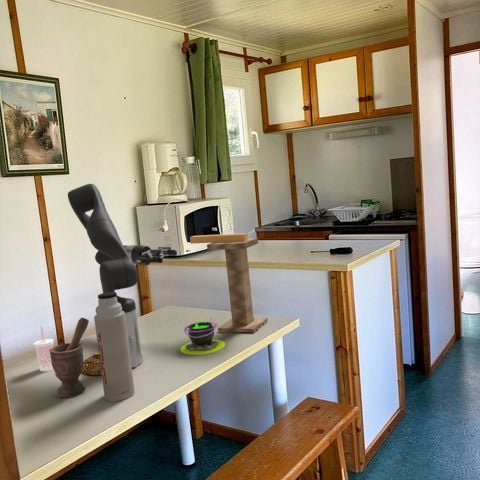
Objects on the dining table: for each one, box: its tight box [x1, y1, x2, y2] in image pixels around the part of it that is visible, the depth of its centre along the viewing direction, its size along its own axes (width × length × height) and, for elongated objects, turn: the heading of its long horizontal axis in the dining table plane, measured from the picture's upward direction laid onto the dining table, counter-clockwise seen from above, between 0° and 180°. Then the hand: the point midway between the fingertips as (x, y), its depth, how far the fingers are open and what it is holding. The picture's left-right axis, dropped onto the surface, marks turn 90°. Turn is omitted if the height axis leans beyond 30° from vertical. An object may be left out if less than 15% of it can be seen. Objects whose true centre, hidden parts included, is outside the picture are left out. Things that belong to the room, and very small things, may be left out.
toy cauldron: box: [180, 314, 226, 356], centre depth 179 cm, size 15×15×11 cm
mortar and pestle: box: [50, 317, 90, 398], centre depth 150 cm, size 12×9×20 cm
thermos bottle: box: [93, 291, 136, 402], centre depth 143 cm, size 8×8×28 cm
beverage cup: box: [33, 326, 54, 372], centre depth 172 cm, size 6×6×14 cm
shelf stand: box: [206, 237, 269, 333], centre depth 197 cm, size 16×14×32 cm
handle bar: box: [189, 232, 249, 245], centre depth 197 cm, size 22×3×2 cm, turn 67°
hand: (169, 256), depth 201 cm, fingers open, 8 cm apart
